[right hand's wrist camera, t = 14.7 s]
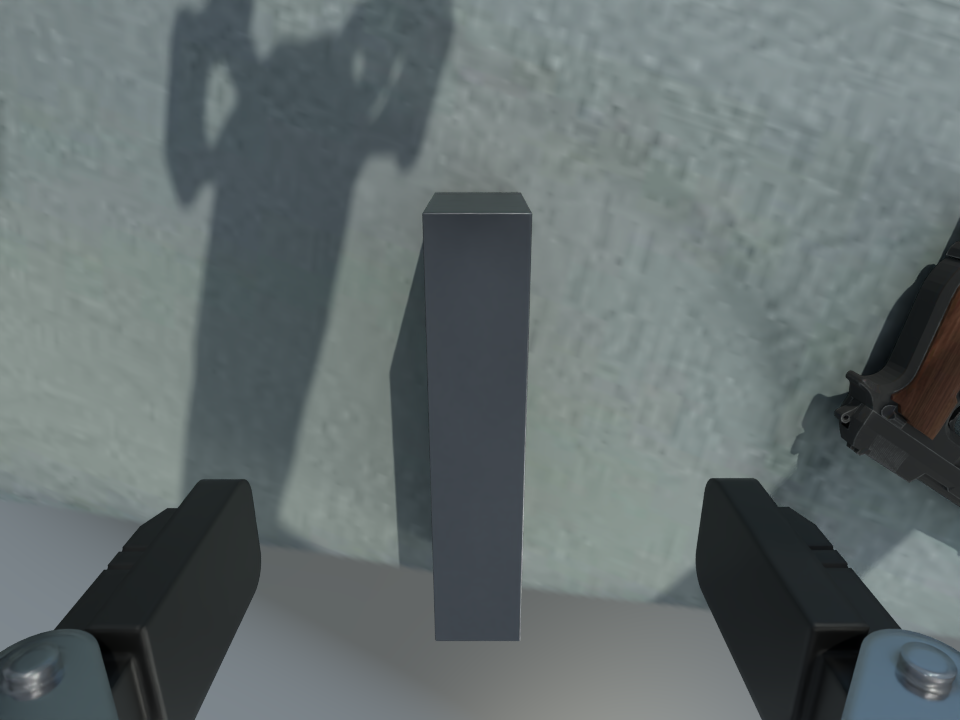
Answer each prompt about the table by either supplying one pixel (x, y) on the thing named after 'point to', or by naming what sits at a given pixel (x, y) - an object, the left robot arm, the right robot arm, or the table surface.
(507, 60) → the table surface
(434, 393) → the bar
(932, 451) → the handgun
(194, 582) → the right robot arm
